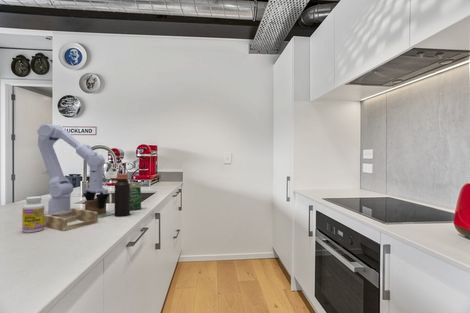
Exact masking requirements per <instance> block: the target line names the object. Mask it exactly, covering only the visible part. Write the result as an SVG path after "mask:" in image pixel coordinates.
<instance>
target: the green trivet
mask: <svg viewBox="0 0 470 313" xmlns="http://www.w3.org/2000/svg"><path fill="white" fill-rule="evenodd" d="M113 215H115V212H111V211H110V212H109V211H106V213H103V214H98V219H99V218H104V217H107V216H113Z"/></svg>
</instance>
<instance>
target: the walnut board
mask: <svg viewBox="0 0 470 313" xmlns="http://www.w3.org/2000/svg"><path fill="white" fill-rule="evenodd" d="M84 210H88V211H94V212H98V214H103V213H106V212H107V201H106V202H105V205H104V208H102V209H99V207H98V200H97V198H96V199H95V198H94V200H89V201H87V200H85V201H84Z"/></svg>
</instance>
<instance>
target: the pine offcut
mask: <svg viewBox="0 0 470 313" xmlns="http://www.w3.org/2000/svg"><path fill="white" fill-rule="evenodd" d="M66 219H67V224H68V223H69V224H70V223H73V222H77V220H76V216H72V217H69V218H66Z"/></svg>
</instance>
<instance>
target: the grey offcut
mask: <svg viewBox="0 0 470 313" xmlns="http://www.w3.org/2000/svg"><path fill="white" fill-rule="evenodd" d="M51 216H56V217H61V218H69V217H72V211H62V212H58V213H55V214H51Z"/></svg>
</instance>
